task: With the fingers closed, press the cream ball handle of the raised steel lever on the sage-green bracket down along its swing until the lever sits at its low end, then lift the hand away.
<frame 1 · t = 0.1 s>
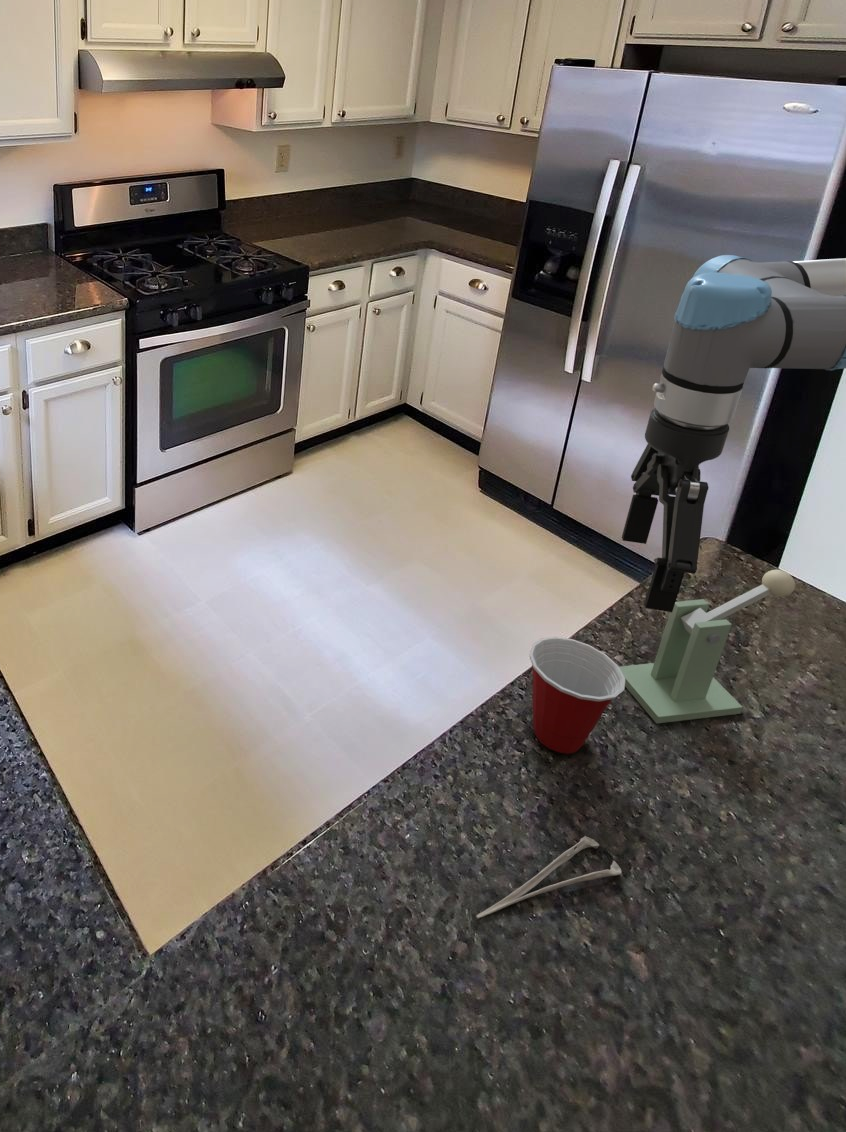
hand: (645, 572, 96), 22 cm above the countertop, tool pointing down, fingers open, 13 cm apart
bracket: (675, 692, 108), on the countertop
plastic cup: (558, 736, 102), on the countertop
lever: (739, 603, 102), point 15 cm above the countertop, hinge at 30.0°
lower jaw bone: (542, 889, 84), on the countertop
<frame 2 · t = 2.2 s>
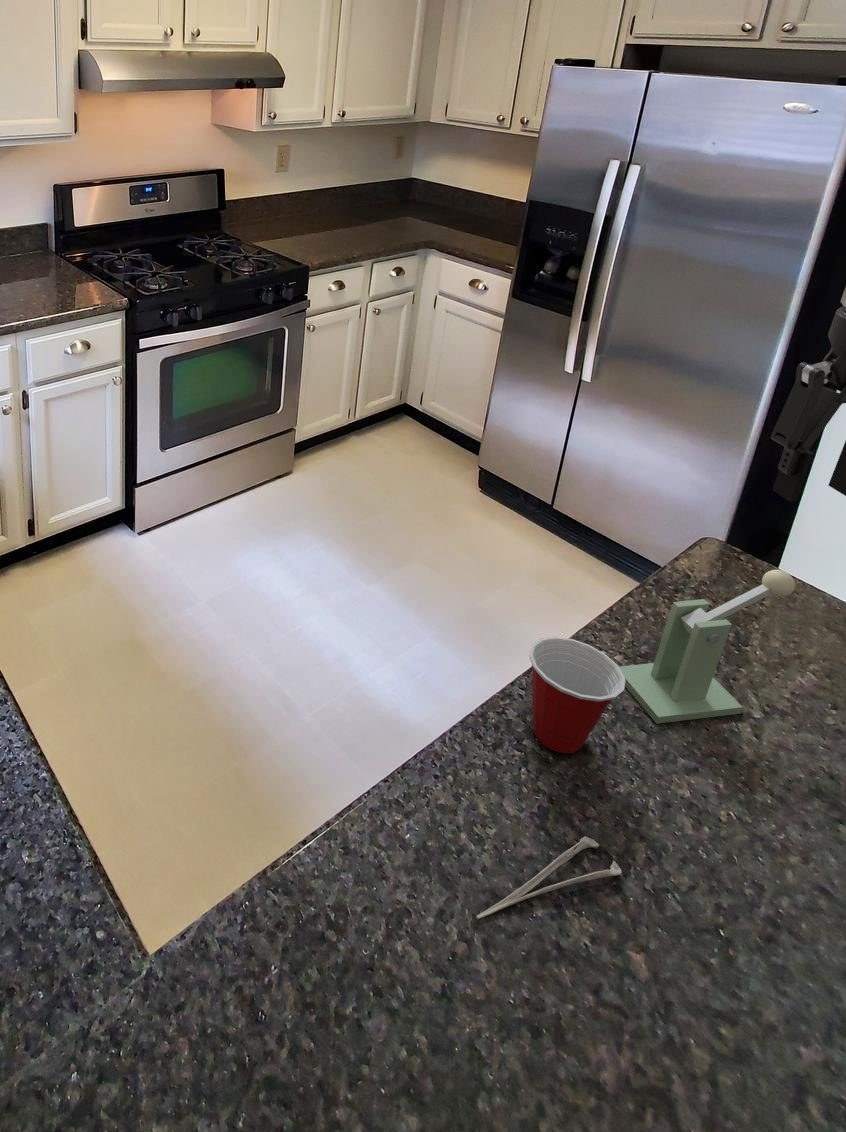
hand: (812, 493, 96), 31 cm above the countertop, tool pointing down, fingers open, 7 cm apart
nothing on the countertop moved.
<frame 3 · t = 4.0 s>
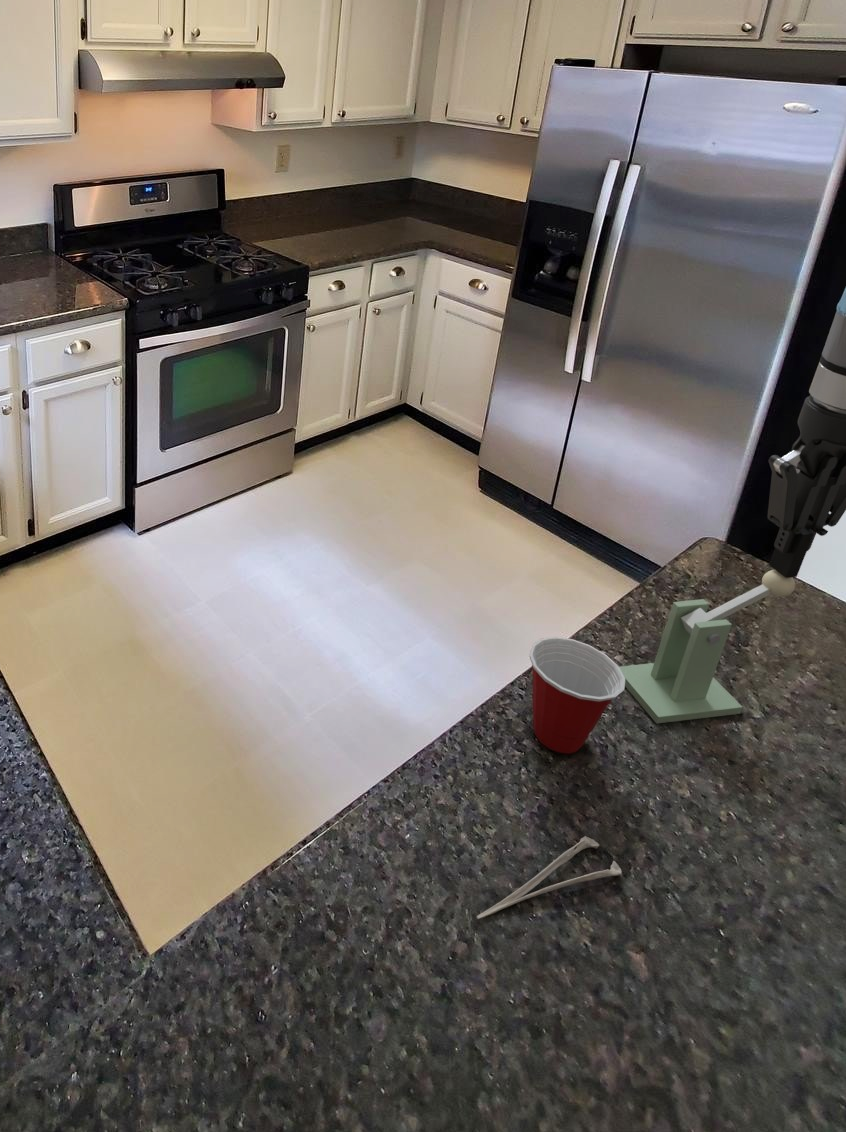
hand: (782, 570, 101), 19 cm above the countertop, tool pointing down, fingers closed
lever: (739, 603, 102), point 15 cm above the countertop, hinge at 30.0°, touching gripper
everything else where it was.
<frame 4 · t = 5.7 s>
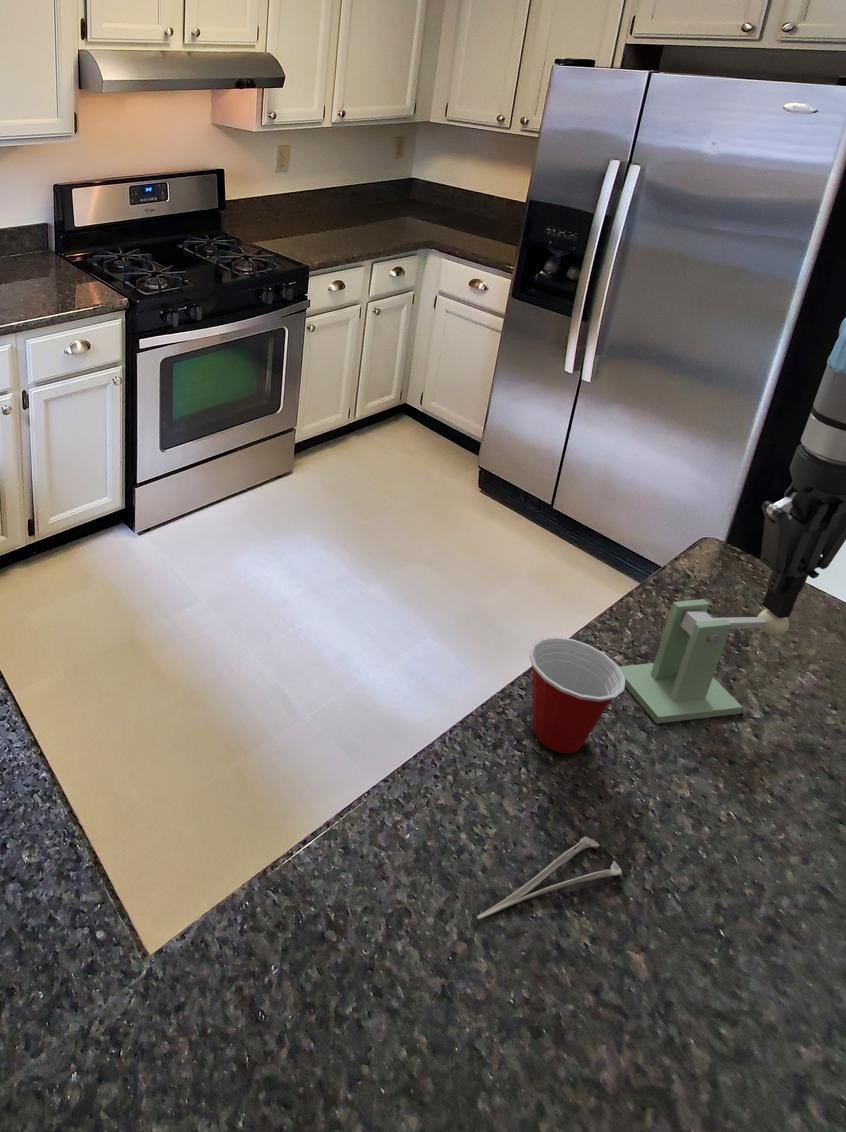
hand: (775, 610, 104), 13 cm above the countertop, tool pointing down, fingers closed
lever: (737, 623, 104), point 11 cm above the countertop, hinge at -5.5°, touching gripper
everything else where it was.
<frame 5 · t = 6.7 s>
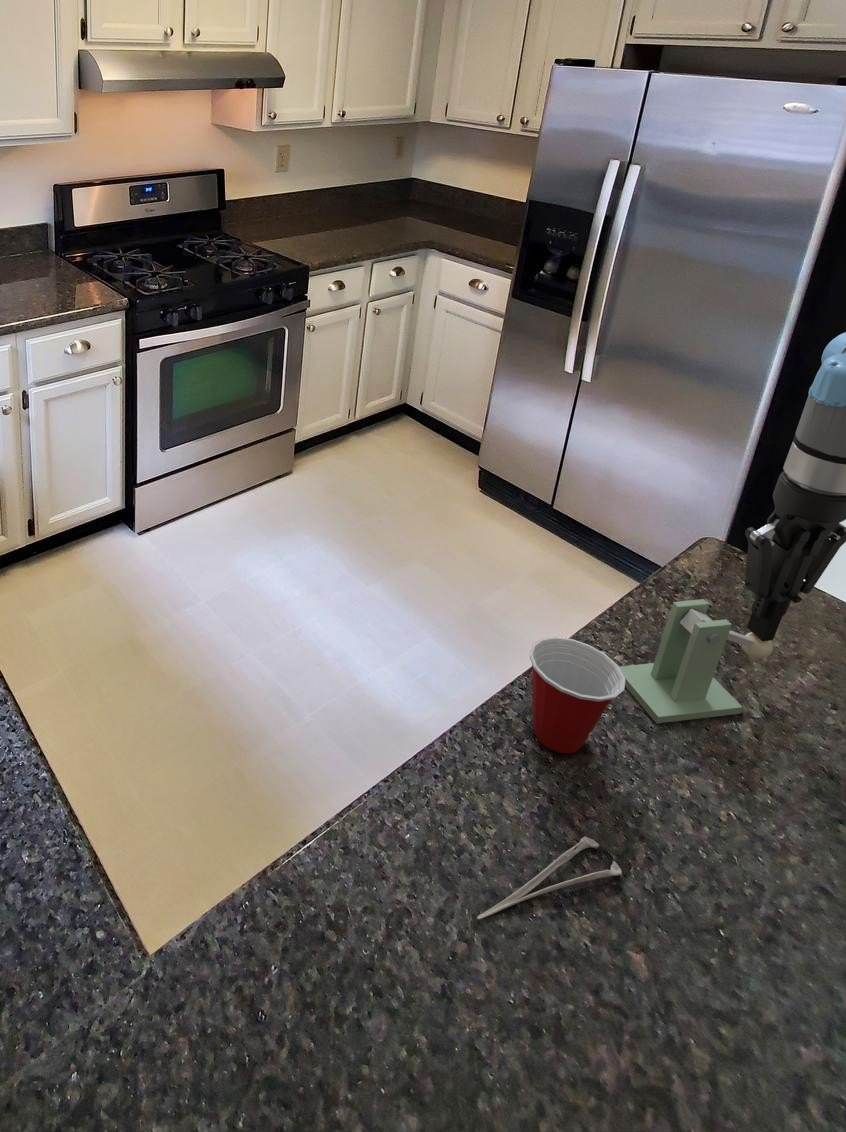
hand: (759, 633, 105), 9 cm above the countertop, tool pointing down, fingers closed
lever: (729, 634, 105), point 10 cm above the countertop, hinge at -26.1°, touching gripper
everything else where it was.
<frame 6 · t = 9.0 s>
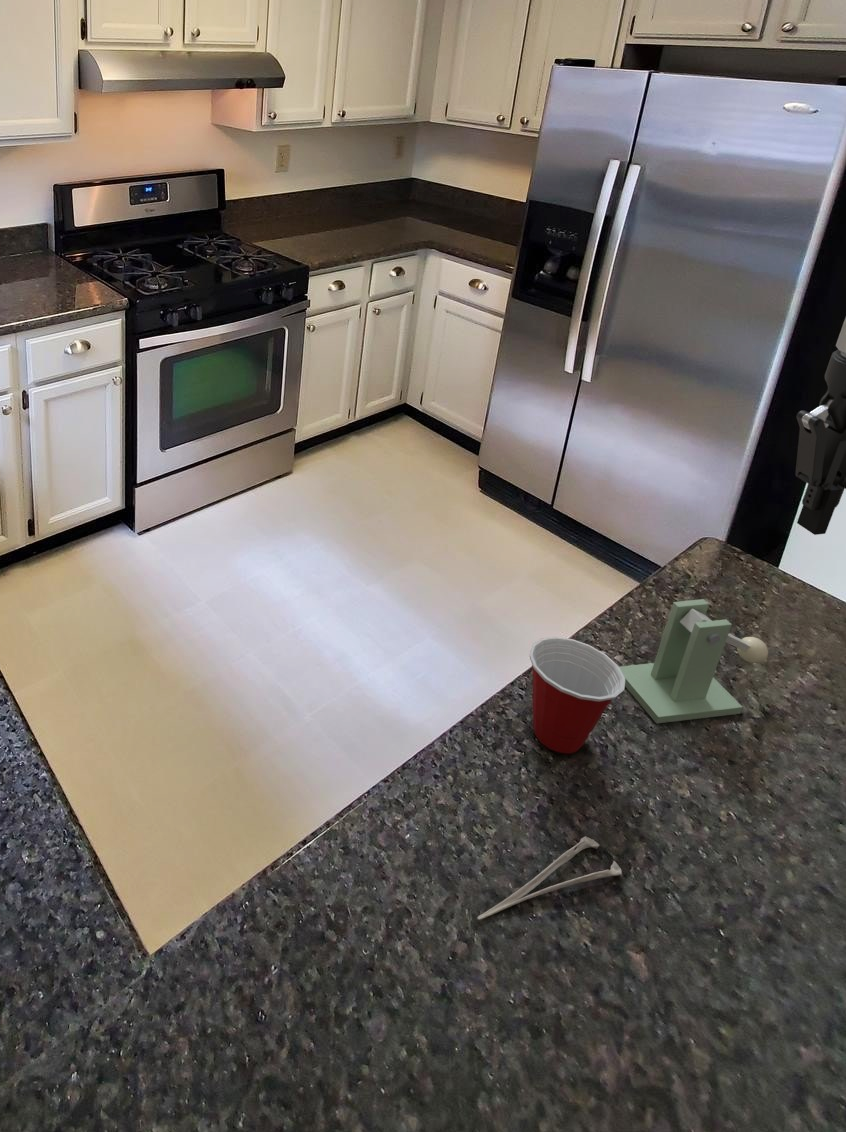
hand: (810, 528, 101), 24 cm above the countertop, tool pointing down, fingers closed
lever: (726, 637, 105), point 9 cm above the countertop, hinge at -30.6°
everything else where it was.
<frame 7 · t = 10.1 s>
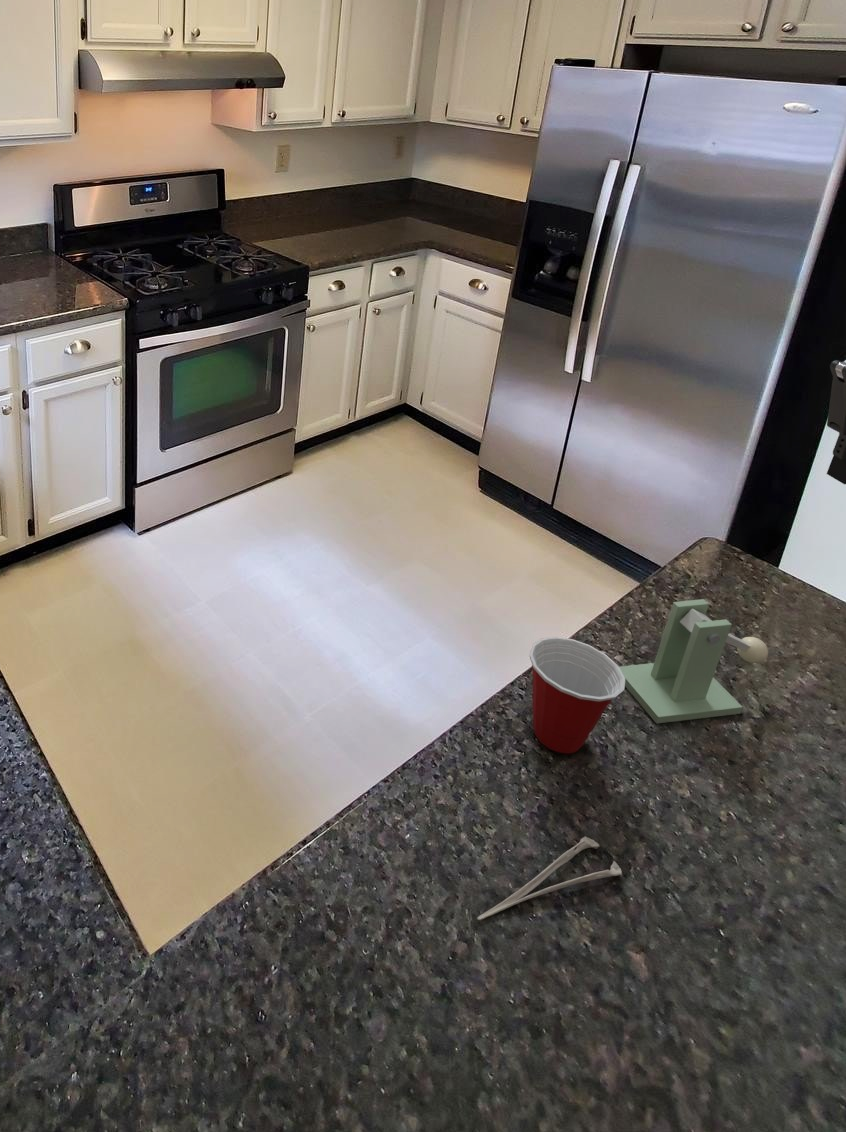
hand: (840, 478, 104), 28 cm above the countertop, tool pointing down, fingers closed
nothing on the countertop moved.
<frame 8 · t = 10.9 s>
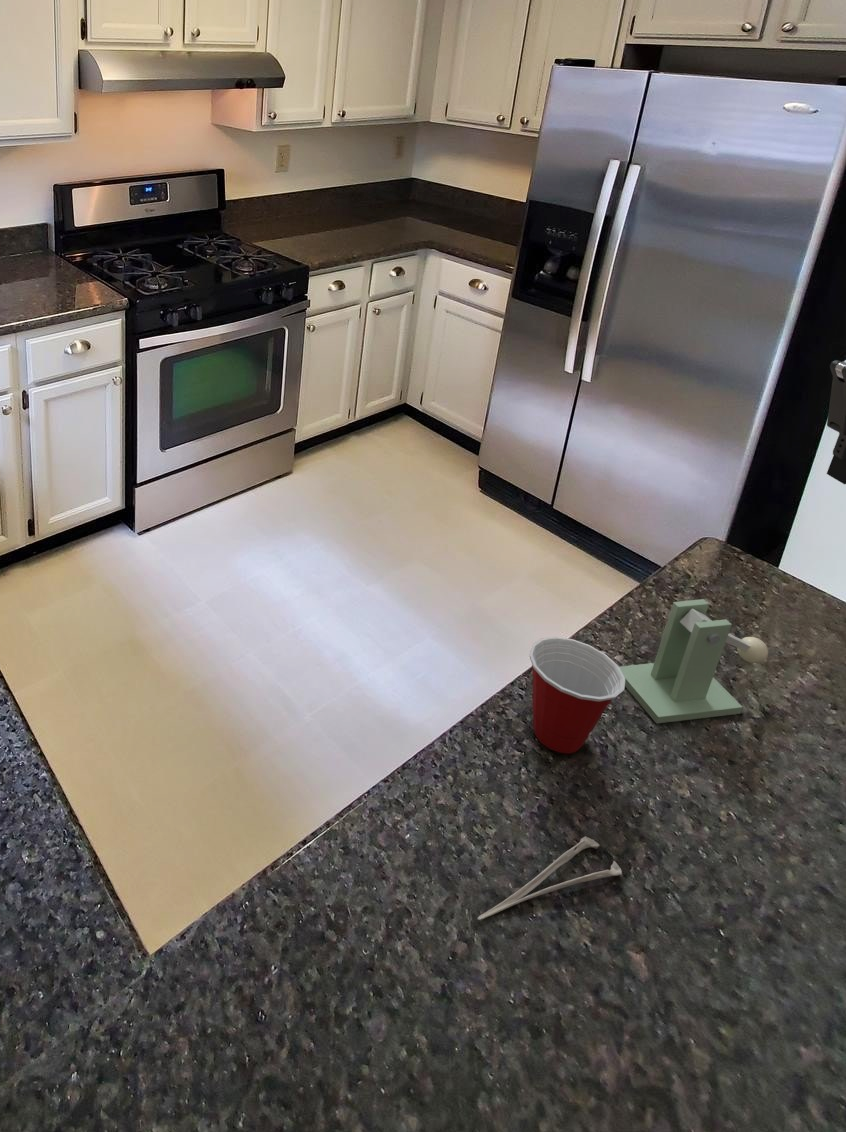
hand: (840, 478, 104), 28 cm above the countertop, tool pointing down, fingers closed
nothing on the countertop moved.
at the end: lever at -31° (first picture: +30°); plastic cup moved 0.2 cm from its start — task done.
